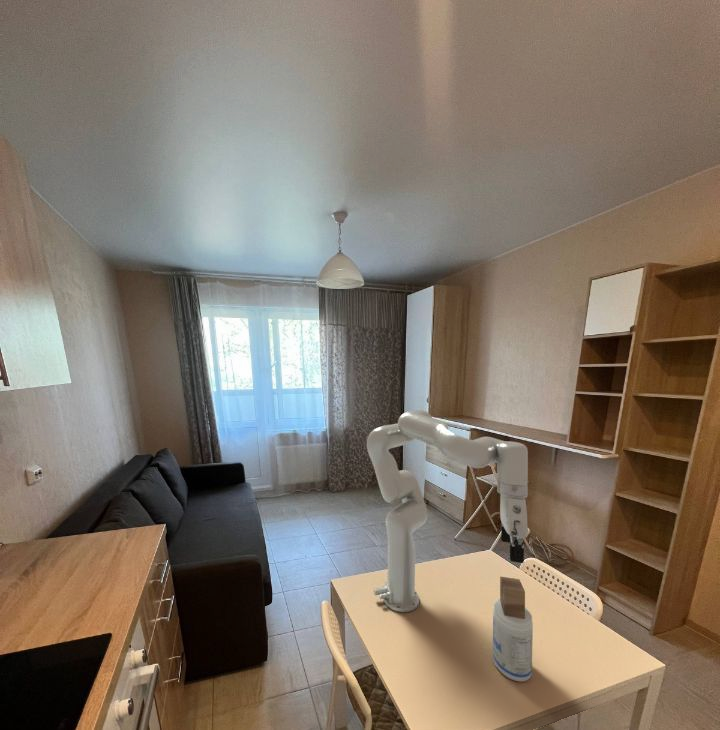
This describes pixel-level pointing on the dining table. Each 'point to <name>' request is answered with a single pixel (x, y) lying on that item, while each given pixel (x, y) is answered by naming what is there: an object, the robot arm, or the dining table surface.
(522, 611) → the walnut block
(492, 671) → the dining table surface
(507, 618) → the supplement tub
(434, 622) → the dining table surface
